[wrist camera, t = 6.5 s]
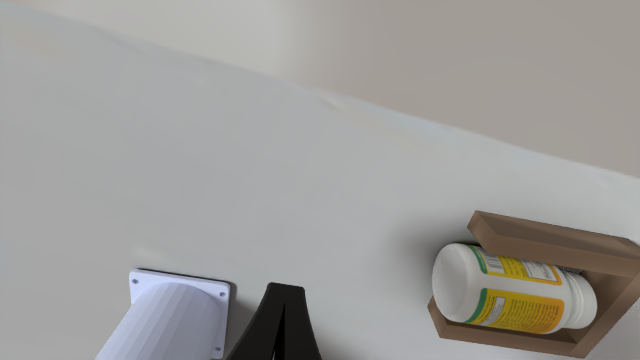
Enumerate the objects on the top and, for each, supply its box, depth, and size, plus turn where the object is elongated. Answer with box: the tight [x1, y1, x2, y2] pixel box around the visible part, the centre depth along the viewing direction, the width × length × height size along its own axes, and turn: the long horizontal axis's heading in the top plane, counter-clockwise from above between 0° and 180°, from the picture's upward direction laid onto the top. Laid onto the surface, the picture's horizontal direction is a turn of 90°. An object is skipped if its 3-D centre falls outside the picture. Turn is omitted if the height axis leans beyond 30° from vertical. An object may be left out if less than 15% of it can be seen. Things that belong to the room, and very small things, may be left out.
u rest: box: [427, 211, 640, 359], centre depth 23 cm, size 10×12×3 cm
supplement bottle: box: [432, 243, 597, 334], centre depth 22 cm, size 5×5×10 cm
